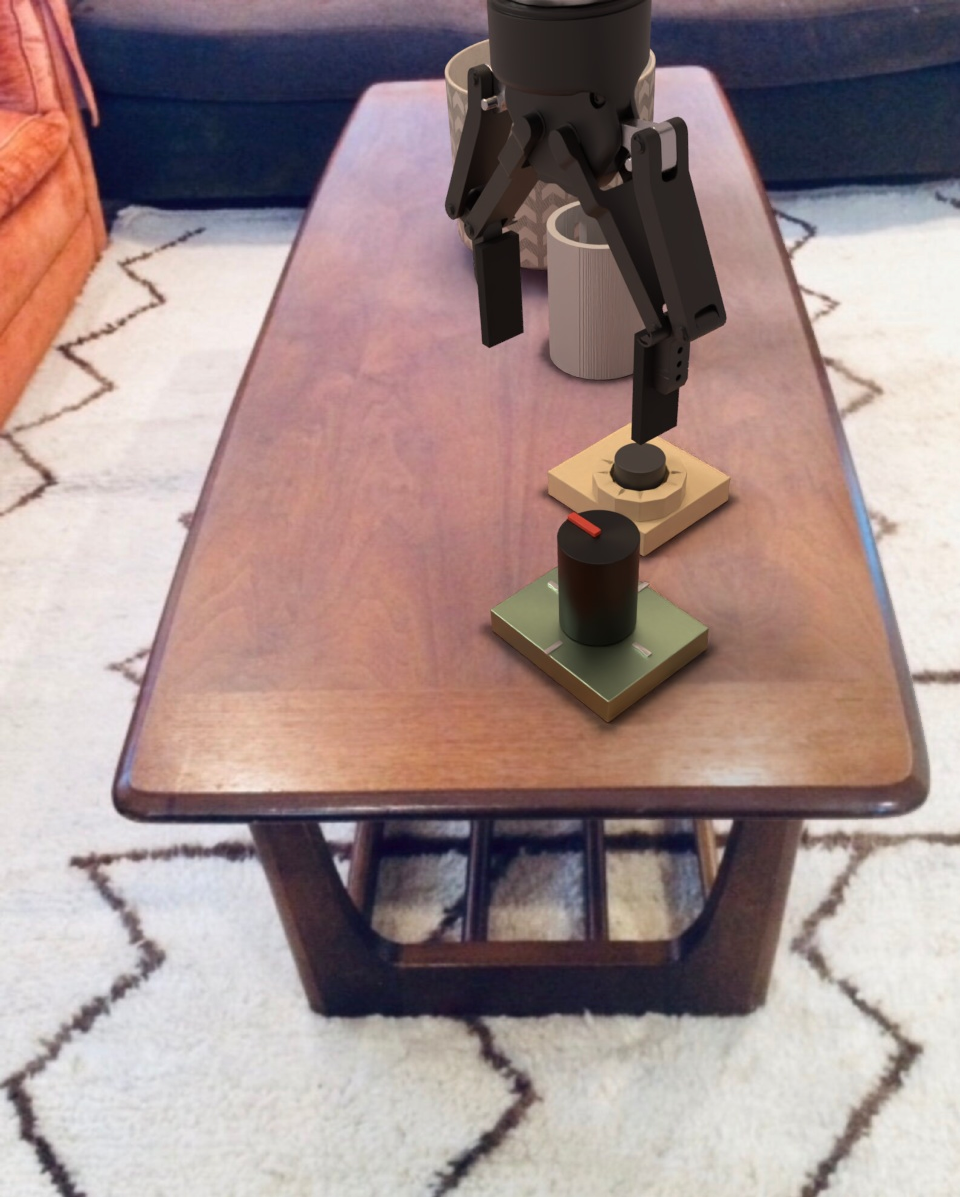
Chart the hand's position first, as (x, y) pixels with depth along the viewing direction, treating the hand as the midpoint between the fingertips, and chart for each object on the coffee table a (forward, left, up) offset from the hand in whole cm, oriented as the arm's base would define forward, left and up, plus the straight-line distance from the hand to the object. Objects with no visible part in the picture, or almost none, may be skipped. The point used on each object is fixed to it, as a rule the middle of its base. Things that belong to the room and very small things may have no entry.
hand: (573, 383), depth 64 cm
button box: (+4, -10, -17) cm, 20 cm away
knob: (-4, +2, -15) cm, 16 cm away
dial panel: (-4, +2, -17) cm, 18 cm away
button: (+3, -9, -13) cm, 16 cm away
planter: (+38, -33, -17) cm, 53 cm away
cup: (+21, -23, -17) cm, 35 cm away
